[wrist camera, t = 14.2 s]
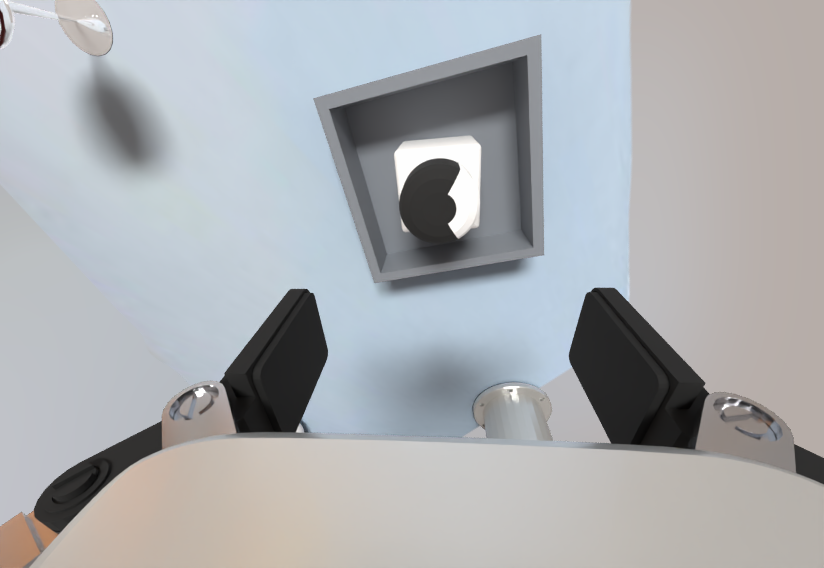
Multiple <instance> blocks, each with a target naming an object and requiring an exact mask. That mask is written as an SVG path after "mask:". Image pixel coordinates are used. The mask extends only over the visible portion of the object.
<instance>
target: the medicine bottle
mask: <svg viewBox="0 0 824 568" xmlns="http://www.w3.org/2000/svg"><path fill="white" fill-rule="evenodd" d="M394 160H395V169H396V178H397V187H398V197H399V211H400V215H401V224H402V230H403V231H404V232H411V233H412V234H413V235H414V236H415V237H417V238H418V239H420V240H422V241H425V242H428V243H433V244H444V243H449V242H452V241H455V240H457V239H459V238H461V237H462V236H464V235H465V234H466V233H467V232H468V231H469V230H470V229H471V228H477V227H478V226H479V222H480V182H481V145H480V144H479V143H478V142H477V141H476V140H475V139H474V138H473V137H472V136H470V135H469V136H458V137H446V138H435V139H424V140H413V141H404V142H402V144H401V145H400V146H399V148H398V149H397V150H396V151H395V153H394Z"/></svg>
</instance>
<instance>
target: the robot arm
mask: <svg viewBox="0 0 824 568" xmlns="http://www.w3.org/2000/svg"><path fill="white" fill-rule="evenodd" d="M327 357H328V349H327V345H326V341H325V336H324V332H323V328H322V324H321V320H320V316H319V312H318V308H317V304H316V300H315V296H314V294H313V293H310V292H309V290H308V289H290V290H289V291H288V292H287V294H286V295H285V296H284V297H283V299H282V300H281V301H280V303H279V304H278V305H277V306H276V308H275V309H274V310H273V312H272V313H271V314H270V315H269V317H268V318H267V319H266V321H265V322H264V323H263V324H262V326H261V327H260V328H259V330H258V331H257V332H256V333H255V335H254V336H253V337H252V338H251V340H250V341H249V342H248V344H247V345H246V346H245V347H244V349H243V350H242V351H241V353H240V354H239V355H238V356H237V358H236V359H235V360H234V362H233V363H232V364H231V365H230V367H229V368H228V369H227V371H226V372H225V373H224V374H225V376H224V377H223V378H222V380H221V381H220V382H218V381H204V382H200V383H197V384H194V385H192V386H190V387H188V388H186V389H184V390H182V391H181V392H179V393H178V394H177V395H175V396H174V397H173V398H172V399H171V400H170V401H169V402H168V404H167V405H166V407H165V408H164V410H163V414H162V421H161V422H159V423H157V424H155V425H153V426H151V427H149V428H147V429H145V430H143V431H141V432H139V433H137V434H135V435H133V436H131V437H129V438H127V439H126V440H123V441H122V442H119V443H117V444H116V445H113V446H112V447H110V448H108V449H106V450H104V451H102V452H100V453H98V454H96V455H94V456H92V457H90V458H88V459H86V460H84V461H82V462H80V463H78V464H77V465H75V466H74V467H72V468H70V469H68V470H67V471H66V472H64V473H63V474H62V475H61V476H59V477H58V478H57V479H55V480H54V481H53V483H51V484H50V486H48V488H46V489H45V491H44V492H43V493H42V495H41V496H40V498H39V499H38V501H37V503H36V506H35V508H34V511H32V512H31V513H29V514H28V515H25V514H24V513H22V512H21V513H19V514H18V515H16V516H15V517H13V518H12V519H10V520H9V521H8V522H6V523H5V524H3V525H2V526H0V568H824V458H822V457H820V456H818V455H816V454H814V453H812V452H810V451H807V450H805V449H803V448H801V447H799V446H797V445H795V444H794V438H793V435H792V432H791V430H790V428H789V427H788V426H787V425H786V423H785V422H784V421H783V420H782V419H780V418H779V417H778V416H777V415H776V414H775V413H774V412H772V411H770V410H769V409H767V408H766V407H764V406H763V405H761V404H759V403H757V402H754V401H752V400H750V399H748V398H746V397H742V396H739V395H736V394H732V393H726V392H715V393H712V394H709V393H708V392H707V391H706V390H705V389H704V387H703V386H704V385H705V382H704V381H703V380H702V379H701V378H700V377H699V376H698V375H697V374H696V373H695V372H694V371H693V369H692V368H691V367H690V366H689V365H688V364H687V363H686V362H685V361H684V360H683V359H682V358H681V357H680V356H679V355H678V354H677V353H676V352H675V351H674V350H673V348H672V347H671V346H670V345H669V344H667V342H666V341H665V340H664V339H663V338H662V337H661V336H660V335H659V334H658V333H657V332H656V331H655V330H654V329H653V328H652V326H651V325H649V323H648V322H647V321H646V320H645V319H644V318H643V317H642V316H641V315H640V314H639V313H638V312H637V311H636V310H635V309H634V308H633V307H632V306H631V304H630V303H629V302H628V301H627V300H626V299H625V298H624V297H623V296H622V295H621V294H620V293H619V292H618V291H617V290H616V289H615V288H594V289H593V290H592V291H591V292H588V293H587V294H586V296H585V299H584V303H583V306H582V310H581V313H580V317H579V320H578V324H577V327H576V331H575V334H574V338H573V341H572V345H571V348H570V352H569V360H570V363H571V365H572V367H573V369H574V371H575V373H576V375H577V377H578V379H579V381H580V383H581V385H582V387H583V389H584V391H585V393H586V395H587V397H588V399H589V401H590V402H591V404H592V406H593V408H594V410H595V412H596V414H597V416H598V418H599V420H600V422H601V424H602V426H603V428H604V430H605V432H606V434H607V436H608V438H609V440H610V442H611V444H609V443H590V442H565V441H553V439H552V436H551V433H550V430H549V427H548V424H547V420H548V419H549V418H550V415H551V412H552V407H551V403H550V400H549V398H548V396H547V395H546V393H544V392H543V391H542V390H541V389H539V388H537V387H536V386H533V385H530V384H526V383H518V382H511V383H503V384H498V385H496V386H493V387H491V388H489V389H487V390H485V391H484V392H482V393H481V394H480V395H479V396H478V397H477V399H476V401H475V402H474V406H473V412H474V418H475V420H476V422H477V423H478V424H479V425H480V426H481V427H482V428H484V429H485V430H486V437H487V438H464V437H436V436H407V435H375V434H342V433H297V432H296V431H297V428H298V426H299V424H300V421H301V419H302V417H303V414H304V412H305V410H306V407H307V405H308V403H309V400H310V398H311V396H312V393H313V391H314V388H315V386H316V384H317V381H318V379H319V377H320V374H321V372H322V370H323V367H324V365H325V363H326V360H327Z"/></svg>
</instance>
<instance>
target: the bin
mask: <svg viewBox="0 0 824 568" xmlns="http://www.w3.org/2000/svg"><path fill="white" fill-rule="evenodd" d="M314 102H315V105H316V108H317V111H318V114H319V117H320V120H321V123H322V126H323V129H324V132H325V135H326V138H327V141H328V144H329V147H330V150H331V153H332V156H333V159H334V162H335V165H336V168H337V171H338V174H339V177H340V180H341V183H342V186H343V189H344V192H345V195H346V198H347V201H348V204H349V207H350V211H351V214H352V217H353V220H354V223H355V226H356V229H357V232H358V235H359V238H360V241H361V244H362V247H363V250H364V253H365V256H366V259H367V262H368V265H369V268H370V271H371V274H372V277H373V280H374V283H378V282H384V281H390V280H396V279H402V278H408V277H414V276H420V275H426V274H432V273H438V272H444V271H450V270H457V269H463V268H469V267H475V266H481V265H487V264H493V263H499V262H505V261H511V260H517V259H523V258H529V257H535V256H541V255H544V215H543V137H542V60H541V35H537V36H534V37H530V38H527V39H523V40H519V41H516V42H512V43H509V44H505V45H502V46H498V47H495V48H491V49H488V50H484V51H480V52H477V53H473V54H470V55H466V56H463V57H459V58H456V59H452V60H448V61H445V62H441V63H438V64H434V65H431V66H427V67H424V68H420V69H417V70H413V71H409V72H406V73H402V74H399V75H395V76H392V77H388V78H385V79H381V80H377V81H374V82H370V83H367V84H363V85H360V86H356V87H353V88H349V89H346V90H342V91H338V92H335V93H331V94H328V95H324V96H321V97H317V98H314ZM469 135H470V136H472V137H473V138H474V139H475V140H476V141H477V142H478V143H479V144H480V145H481V182H480V222H479V226H478V227H477V228H471V229H470V230H469V231H468V232H467V233H466V234H465V235H464V236H462V237H461V238H459V239H457V240H455V241H452V242H449V243H444V244H433V243H428V242H425V241H422V240H420V239H418V238H417V237H415V236H414V235H413V234H412V233H411V232H404V231H403V230H402V224H401V215H400V211H399V197H398V187H397V178H396V169H395V160H394V153H395V151H396V150H397V149H398V148H399V146H400V145H401V144H402V142H404V141H413V140H424V139H435V138H446V137H458V136H469Z"/></svg>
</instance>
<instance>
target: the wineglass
mask: <svg viewBox="0 0 824 568" xmlns="http://www.w3.org/2000/svg"><path fill="white" fill-rule="evenodd" d="M55 11H56V13H53V12H49V11H46V10H42V9H38V8H35V7H31V6H27V5H23V4H20V3H16V2H12V1H9V0H0V50H1V49H4V48H5V47H6V46H7V45H8V44H9V43H10V42H11V40H12V36H13V32H14V27H15V17H14V13H15V14H22V15H28V16H34V17H40V18H46V19H52V20H58V21H59V24H60V25H61V27H62V29H63V31H64V32H65V34H66V35H67V36H68V38H69V39H70V40H71V41H72V42H73V43H74V44H75V45H76V46H77V47H79V48H80V49H81V50H83V51H84V52H86V53H88V54H91V55H96V56H100V55H104V54H106V53H107V52H108V51H109V50H110V48H111V45H112V30H111V27H110V23H109V21H108V19H107V17H106V15H105V13H104V11H103V10H102V8H101V7H100V6H99V5H98V3H97V2H96V1H95V0H55Z"/></svg>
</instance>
